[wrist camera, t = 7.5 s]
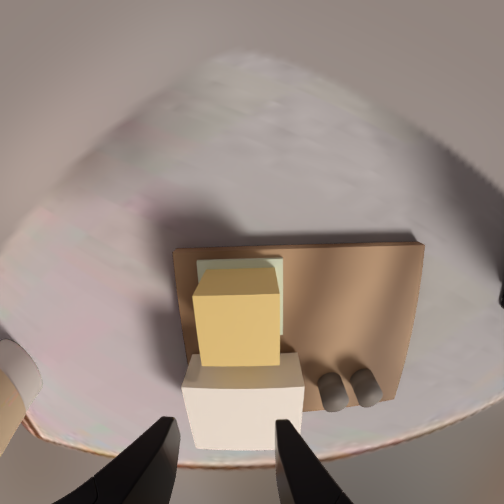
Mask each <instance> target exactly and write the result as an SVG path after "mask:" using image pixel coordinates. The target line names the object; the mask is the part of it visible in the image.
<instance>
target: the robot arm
mask: <svg viewBox="0 0 504 504" xmlns="http://www.w3.org/2000/svg"><path fill="white" fill-rule="evenodd" d="M501 307H502V308H503V309H504V295H503V299H502V303H501ZM179 446H180V432H179V428H178V425H177V421H176V419H175V418H174V417H166V416H163V417H161V418H160V419H159V420H158V421H156V422H155V423H154V424H153V425H152V426H151V427H150V428H149V429H148V430H146V431H145V432H144V433H143V434H142V435H141V436H140V437H139V438H137V439H136V440H135V441H134V442H133V443H132V444H131V445H129V446H128V447H127V448H126V449H125V450H124V451H122V452H121V453H120V454H119V455H118V456H117V457H115V458H114V459H113V460H112V461H111V462H109V463H108V464H107V465H106V466H105V467H103V468H102V469H101V470H100V471H99V472H97V473H96V474H95V475H94V477H91V478H90V479H89V480H87V481H86V482H85V483H84V484H82V485H81V486H79V487H78V488H77V489H76V490H74V491H72V492H71V493H69V494H68V495H66V496H65V497H63V498H61V499H59V500H58V501H56V502H54V503H52V504H169V501H170V498H171V493H172V489H173V486H174V482H175V478H176V471H177V462H178V454H179ZM275 459H276V481H277V487H278V493H279V498H280V503H281V504H354V503H353V502H352V501H351V500H350V499H349V498H348V496H346V494H345V493H344V492H342V491H343V490H342V489H341V488H340V487H339V485H338V484H337V483H336V482H335V480H334V479H333V478H332V476H331V475H330V474H329V473H328V471H327V470H326V469H325V467H324V466H323V465H322V464H321V462H320V461H319V460H318V458H317V457H316V456H315V454H314V453H313V452H312V450H311V449H310V448H309V446H308V445H307V444H306V442H305V441H304V440H303V438H302V437H301V435H300V434H299V433H298V431H297V430H296V429H295V427H294V426H293V424H292V423H291V422H290V420H288V419H278V420H276V421H275Z"/></svg>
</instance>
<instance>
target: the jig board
mask: <svg viewBox="0 0 504 504" xmlns="http://www.w3.org/2000/svg"><path fill="white" fill-rule="evenodd" d="M424 249H425V245H424V244H422V243H420V242H380V243H340V244H304V245H269V246H237V247H206V248H177V249H176V250H175V251H174V252H172V253H173V262H174V271H175V280H176V288H177V296H178V304H179V311H180V318H181V325H182V331H183V338H184V344H185V350H186V356H187V362H188V365H189V363H190V360H191V357H192V354H200V350H199V343H198V336H197V329H196V321H195V314H194V305H193V297H192V296H193V294H194V292H195V290H196V288H197V286H198V284H199V283H198V273H197V260H213V259H247V258H280V257H283V335H280V353H298V357H299V362H300V367H301V371H302V376H303V381H304V386H305V388H304V400H303V411H302V412H307V411H318V410H326V411H328V412H337V411H340V410H342V409H344V408H345V407H351V406H358V405H360V406H362V407H371V406H373V405H375V404H377V403H378V402H382V401H387V400H392V399H394V398H395V395H396V391H397V388H398V385H399V381H400V378H401V374H402V370H403V366H404V363H405V359H406V355H407V351H408V346H409V342H410V337H411V333H412V328H413V323H414V318H415V313H416V307H417V301H418V295H419V289H420V282H421V275H422V267H423V258H424Z"/></svg>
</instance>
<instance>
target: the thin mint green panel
mask: <svg viewBox="0 0 504 504" xmlns="http://www.w3.org/2000/svg"><path fill="white" fill-rule="evenodd" d="M269 267H275V271H276V276H277V281H278V287H279V292H280V335H283V257H280V258H247V259H213V260H197V273H198V283H199V282H200V280H201V278H202V276H203V274H204V272H205V270H206V269H239V268H269Z"/></svg>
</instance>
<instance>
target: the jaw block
mask: <svg viewBox="0 0 504 504" xmlns="http://www.w3.org/2000/svg"><path fill="white" fill-rule="evenodd" d="M192 297H193V305H194V314H195V321H196V329H197V336H198V343H199V350H200V357H201V364H202V366H274V365H280V292H279V287H278V281H277V276H276V271H275V267H269V268H239V269H206V270H205V272H204V274H203V276H202V278H201V280H200V282H199V284H198V286H197V288H196V290H195V292H194V294H193V296H192Z"/></svg>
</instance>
